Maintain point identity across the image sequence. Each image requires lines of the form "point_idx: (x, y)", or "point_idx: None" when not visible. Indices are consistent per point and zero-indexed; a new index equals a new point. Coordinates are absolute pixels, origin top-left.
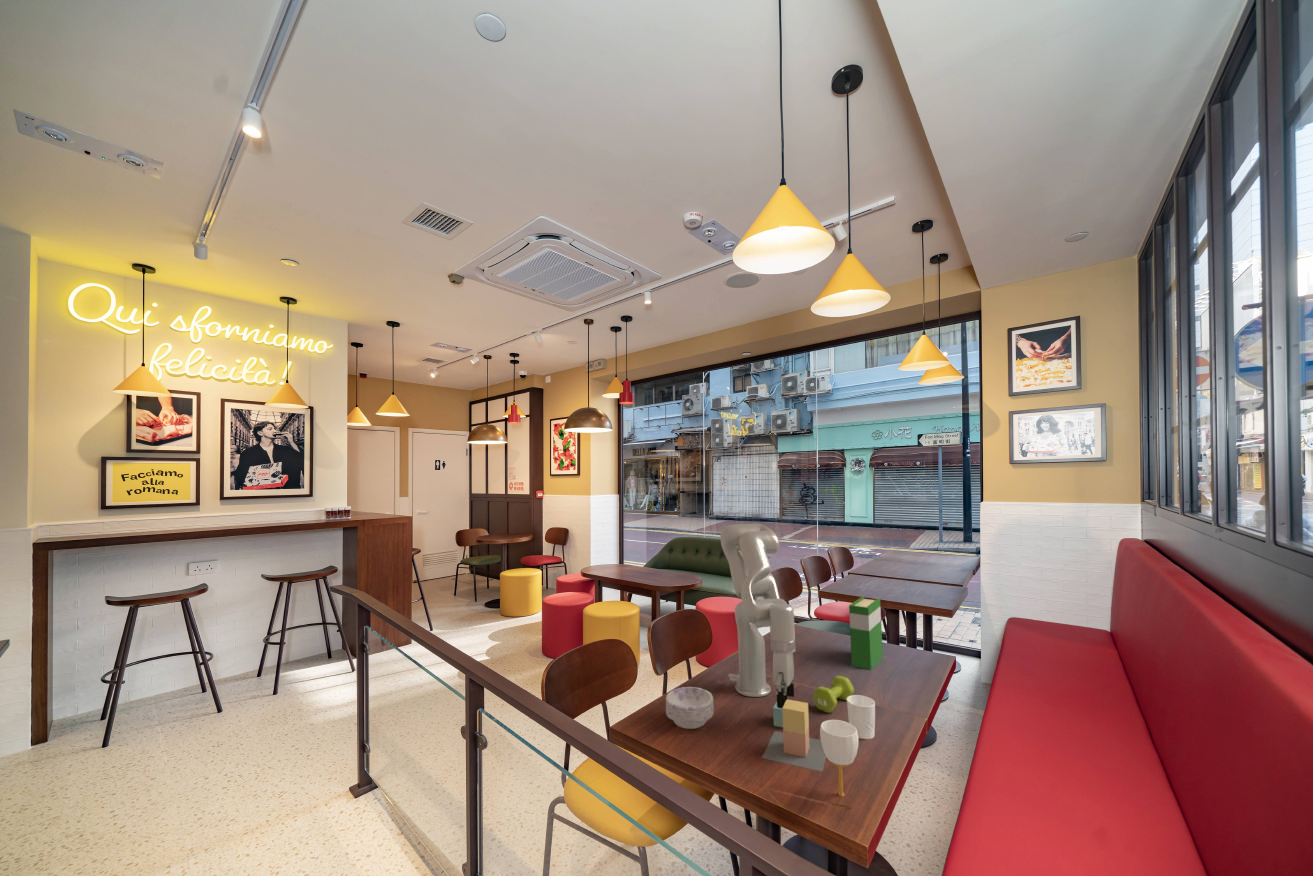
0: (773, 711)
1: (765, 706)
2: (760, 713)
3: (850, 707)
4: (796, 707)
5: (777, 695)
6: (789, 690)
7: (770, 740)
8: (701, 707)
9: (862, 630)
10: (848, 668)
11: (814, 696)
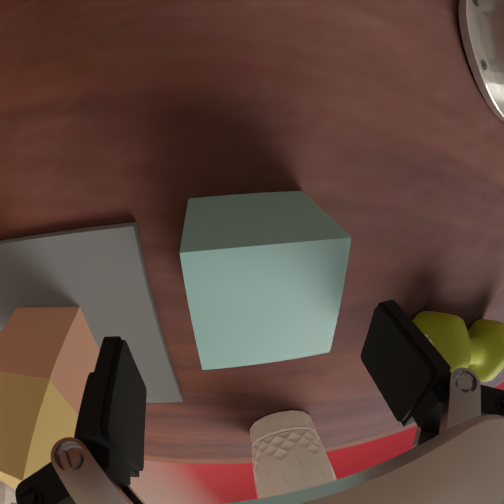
0: (181, 240)
1: (412, 102)
2: (331, 82)
3: (269, 493)
4: (10, 483)
5: (86, 426)
6: (387, 368)
7: (41, 239)
8: None
9: None
10: None
11: (446, 332)
